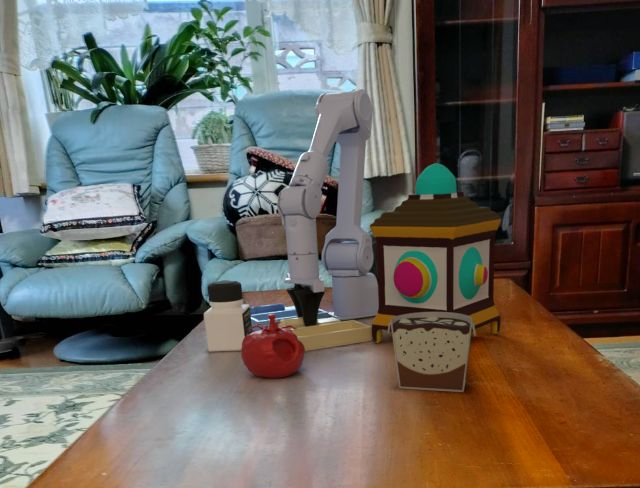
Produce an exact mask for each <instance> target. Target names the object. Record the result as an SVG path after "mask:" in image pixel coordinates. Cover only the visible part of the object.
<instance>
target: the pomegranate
mask: <svg viewBox="0 0 640 488" xmlns="http://www.w3.org/2000/svg"><path fill="white" fill-rule="evenodd" d="M268 317H269V319H270V325H269V327H268V326H265V325H262V324H254V325H255V326H253V327H252V328H250V329H253V328H255V327H259V328H260V329H262V330H260V331H256V332H253V331H252V333H251V334H249V335H247V336H246V337H245V338H244V339H243V342H242V348H241V351H240V354H241V359H242V362H243V365H244V366H245V367H246V369H247V371H248V372H249V373H251V374H252V375H255V376H257V377H261V378H271V379H274V378H275V379H276V378H277V379H279V378H286V377H289V376H292V375H294V374H295V373H296V372H298V371H299V370H300V369H301V367H302V365H303V361H304V359H305V354H306V351H305V348H304V345H303V344H302V342H300V341H299V340H298V338H297V336H296V335H295V334H294V333H293V332H292V331H291V329H288V328H289V327H292V328H293V329H297V328H295V327H293V326H292V325H288V326H286V327H281V328H278V327H277V326H278V324H279V323H281V321H280V322H278V321H277V322H276V323H275V318H276V316H275V314H270V315H269V316H268ZM259 325H261V326H263V327H264V328H262V327H260V326H259ZM250 329H249V330H250Z"/></svg>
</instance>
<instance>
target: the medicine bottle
mask: <svg viewBox="0 0 640 488" xmlns="http://www.w3.org/2000/svg"><path fill="white" fill-rule="evenodd" d="M242 286H243V285H242V283H241V282H240V281H238V280H234V279H223V280H222V279H221V280H215V281H212V282H210V283H209V284H208V285H207V287H206V288H207V294H208V296H207V297H208V304H209V306H210V308H208V309H207V310H206V311H205V312H204V313H203V321H204V328H205V329H204V330H205V337H206V343H207V344H206V345H207V352H210V353H212V352H213V353H214V352H236V351H239V352H241V348H242V342H243V339H244V338H245V337H246V336H247V335H249V334H251V333H253V331H252V329H250V328H252V324H251V314H250V308H251V305H250V304H248V303H244V297H243V287H242ZM249 329H250V330H249Z"/></svg>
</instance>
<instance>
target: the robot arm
mask: <svg viewBox="0 0 640 488" xmlns="http://www.w3.org/2000/svg"><path fill="white" fill-rule="evenodd" d="M314 108H315V109H314V110H315V117H316V121H317V123H316V126H315V130H314V133H313V136H312V140H311V142H310V146H309V148H308V151H305V152H303V153H301V155H300V156H299V158H298V161H297V164H296V166H295V169H294V171H293V173H292V176H291V179H290V182H289V183H288V186H285V187H283V189H281V190H280V191H279V193H278V196H277V202H276V208H277V213H278V214H279V216H280V219H281V225H282V228H283V229H285V240H286V253H287V262H288V264H287V265H288V273H286V278H285V277H284V278H283V283H285V284H293V287H288V288H286V292H287V295H289V297H290V299H291V301H292V303H293V306H295V309H296V312H297V316H298V318H299V317H303V321H304V324H305V326H306V327H308V326H315V325H316V322H317V316H318V310H319V309H320V305H321V302H322V300H323V297H324V295H325V293H326V290H325V280H322V276H321V275H320V265H319V250H318V233H317V219H316V218H317V217H318V216H319V214H320V213H321V210H322V197H323V191H322V188H323V185H324V183H325V180H326V178H327V175H328V172H329V170H330V166H329V162H328V160H327V158H328V156H329V155H330V152H331V150H332V148H333V146H334V144H335V143H337V144H338V145H339V147H340V154H339V155H340V156H339V169H338V171H339V172H338V173H339V174H338V189H337V206H336V224H335V226H334V227H333V228H332V229H331V230H330V231H329V232H328V233H326V235H325V237H324V238H325V240H324V244H323V248H322V250H321V263H322V265H323V268H324V270H325V271H326V272H327V273H328V274H327V275H328V276H331V289H332V291H331V292H332V306H333V308H332V309H333V311H328V317H330V318H332V317H334V318H336V319H339V320H340V321H350V320H356V319H361V318H371V317H376V314H377V312H378V308H379V300H378V278H377V277H376V275H375V274H374V273H373V272H369V271H370V270H371V269H372V267H373V264H374V251H373V238H372V236H371V235H370V234H369V233H368V232H367V231H365V230H364V229H363V228H362V227H361V224H362V210H363V209H362V208H363V195H364V179H365V163H366V148H367V141H368V140H369V139H370V138H371V137H372V127H373V114H374V113H373V112H374V110H373V109H374V108H373V104H372V102H371V98H370V95H369V93H368V92H367V91H366V90H365V89H364V88H363V89H362V88H361V89H360V88H359V89H357V90H350V91H341V92H332V93H327V92H323V93H321V94H320V95H319V96H318V98H317V101H316V105H315V107H314Z"/></svg>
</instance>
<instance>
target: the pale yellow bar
mask: <svg viewBox="0 0 640 488" xmlns="http://www.w3.org/2000/svg"><path fill="white" fill-rule="evenodd" d="M336 322H342V320H339V319H336V318H334V317H328V318H324V319H317V322H316V325H322V324H329V323H336ZM288 325H292V326H293V327H295V328H301V327H306V326H305V324H304V321H303V317H299V318H291V319H284V320H281V323H279V324H278V327H279V328H281V327H286V326H288ZM288 329H293V328H292V327H289V328H288Z"/></svg>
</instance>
